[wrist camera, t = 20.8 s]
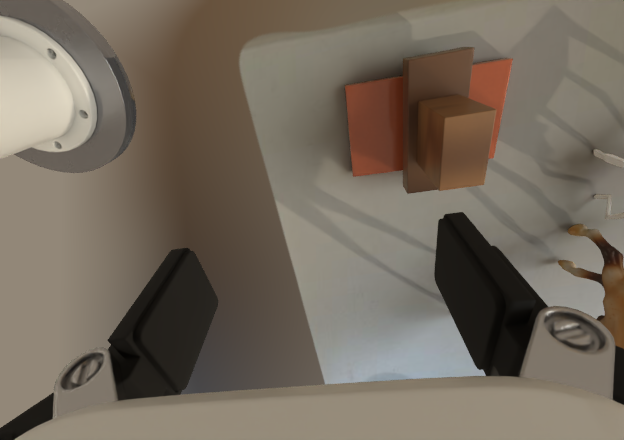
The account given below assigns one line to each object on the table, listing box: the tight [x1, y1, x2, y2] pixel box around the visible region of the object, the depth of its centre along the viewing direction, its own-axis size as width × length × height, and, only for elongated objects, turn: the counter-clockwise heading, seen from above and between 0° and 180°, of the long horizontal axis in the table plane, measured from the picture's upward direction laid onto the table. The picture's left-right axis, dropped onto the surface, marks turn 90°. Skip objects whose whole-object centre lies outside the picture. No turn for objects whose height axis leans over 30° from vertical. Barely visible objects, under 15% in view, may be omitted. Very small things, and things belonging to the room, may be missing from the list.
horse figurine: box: [558, 224, 624, 349], centre depth 34 cm, size 31×8×21 cm, turn 148°
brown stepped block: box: [403, 47, 496, 193], centre depth 26 cm, size 13×5×10 cm, turn 10°
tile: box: [345, 58, 513, 177], centre depth 31 cm, size 16×10×1 cm, turn 99°
